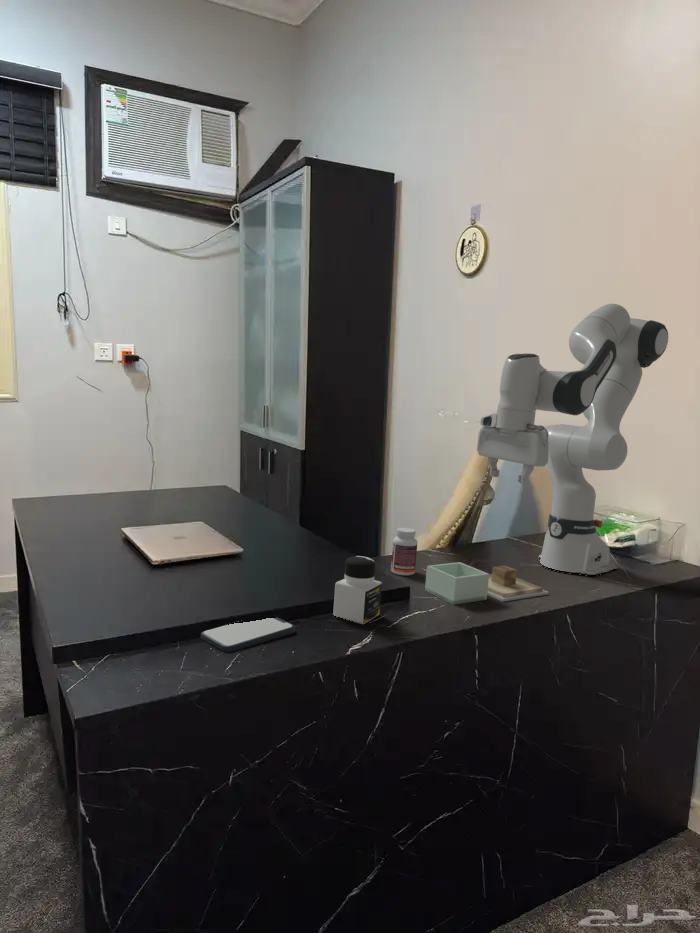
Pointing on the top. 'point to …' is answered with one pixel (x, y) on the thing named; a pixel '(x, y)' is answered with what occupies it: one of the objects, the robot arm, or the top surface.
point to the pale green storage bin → (457, 583)
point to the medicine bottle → (358, 591)
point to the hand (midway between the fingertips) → (508, 480)
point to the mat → (517, 595)
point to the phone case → (247, 633)
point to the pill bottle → (404, 552)
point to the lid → (509, 583)
